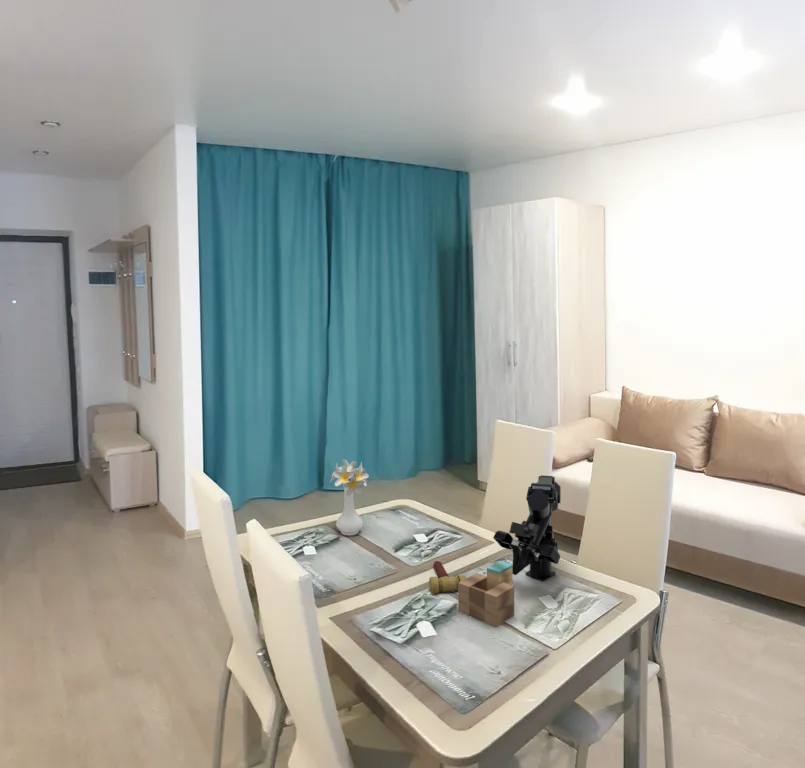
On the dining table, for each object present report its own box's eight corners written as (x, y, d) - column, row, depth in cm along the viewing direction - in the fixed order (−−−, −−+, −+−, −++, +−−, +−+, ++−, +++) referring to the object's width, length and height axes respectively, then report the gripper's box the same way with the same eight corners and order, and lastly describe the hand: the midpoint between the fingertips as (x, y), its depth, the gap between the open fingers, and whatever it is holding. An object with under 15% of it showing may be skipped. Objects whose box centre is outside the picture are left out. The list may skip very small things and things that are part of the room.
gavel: (419, 555, 204) (451, 553, 205) (419, 570, 204) (451, 567, 206) (431, 580, 183) (467, 577, 185) (432, 596, 184) (467, 593, 185)
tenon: (499, 598, 181) (500, 560, 179) (512, 603, 178) (512, 564, 177) (486, 606, 177) (486, 567, 175) (499, 611, 174) (499, 571, 172)
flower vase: (343, 545, 220) (341, 472, 217) (324, 528, 237) (322, 459, 233) (379, 538, 226) (378, 466, 222) (358, 521, 242) (356, 454, 239)
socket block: (476, 600, 180) (476, 572, 179) (514, 615, 172) (514, 586, 171) (458, 611, 174) (458, 582, 173) (496, 627, 166) (496, 596, 165)
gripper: (497, 502, 189) (473, 551, 182) (555, 517, 176) (532, 570, 170) (512, 522, 196) (490, 569, 189) (569, 537, 183) (547, 589, 177)
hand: (513, 574), depth 181 cm, fingers closed
